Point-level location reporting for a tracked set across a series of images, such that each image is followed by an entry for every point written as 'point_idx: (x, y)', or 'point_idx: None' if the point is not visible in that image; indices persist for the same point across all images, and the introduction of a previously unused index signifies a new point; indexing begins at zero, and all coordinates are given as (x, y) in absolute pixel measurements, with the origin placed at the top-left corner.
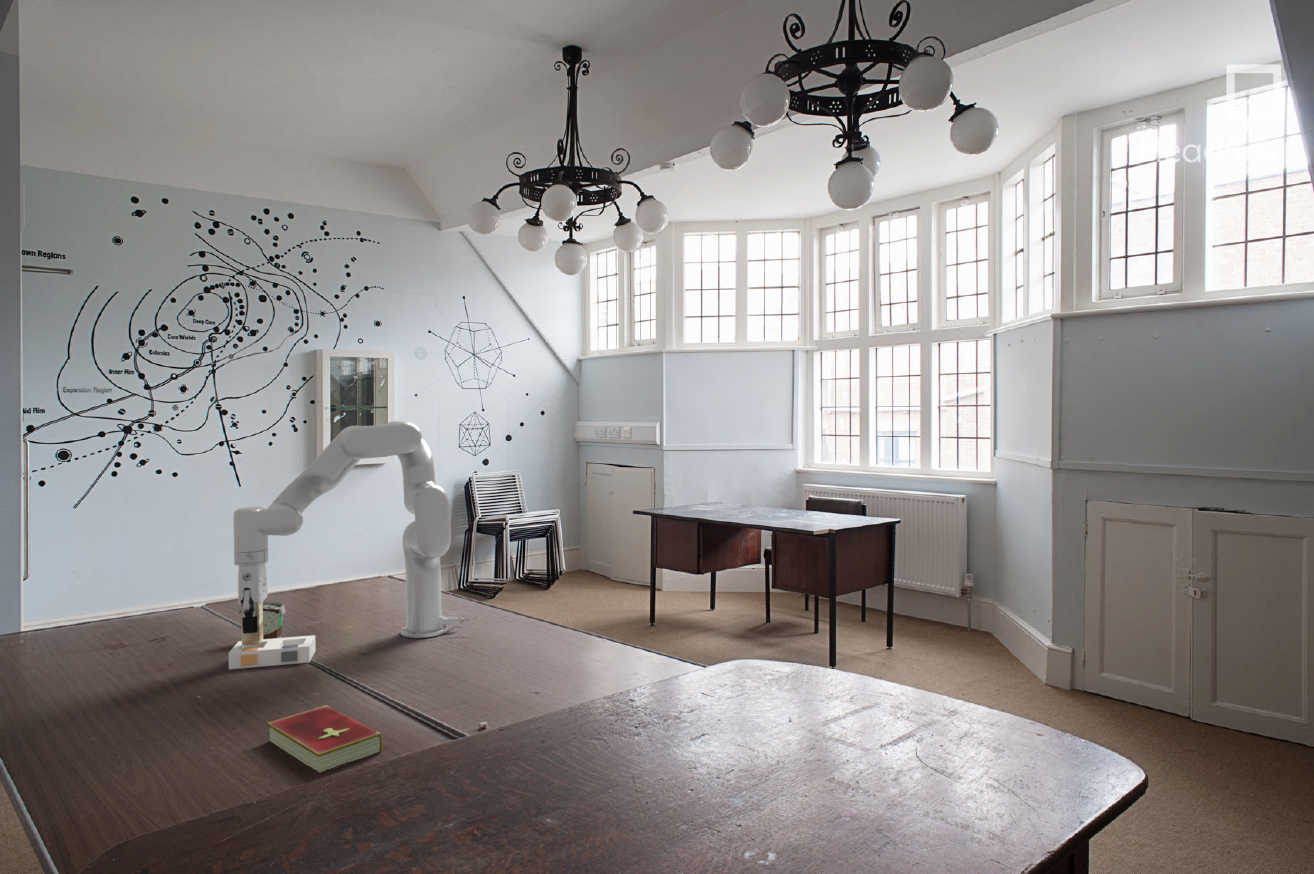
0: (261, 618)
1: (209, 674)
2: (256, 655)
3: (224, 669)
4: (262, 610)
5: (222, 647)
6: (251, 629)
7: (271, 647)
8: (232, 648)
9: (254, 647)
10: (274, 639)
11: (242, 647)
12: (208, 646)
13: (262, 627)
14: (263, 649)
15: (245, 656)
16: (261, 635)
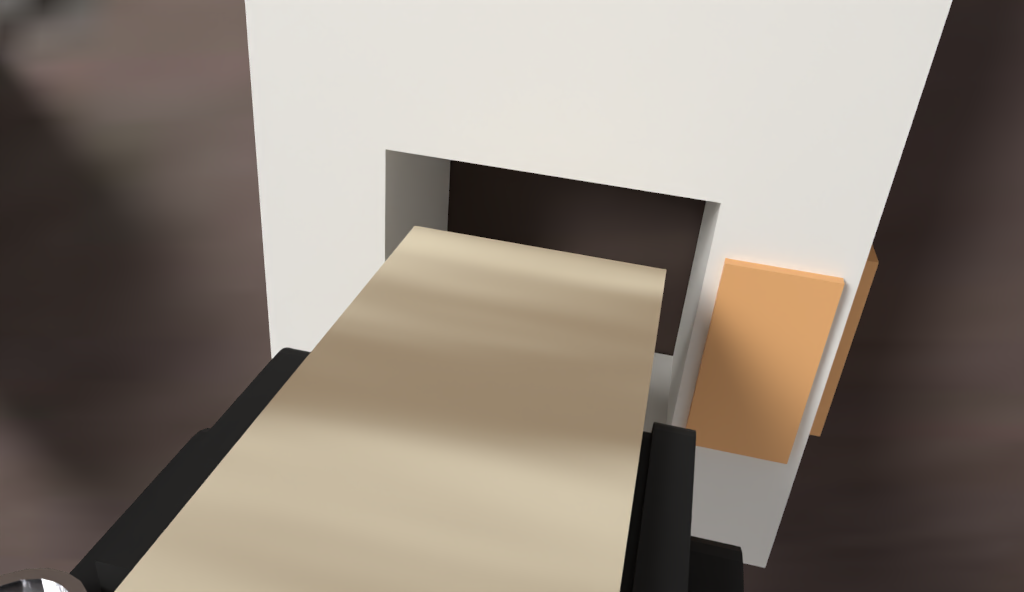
0: (385, 486)
1: (835, 570)
2: (876, 260)
3: None
4: (161, 590)
5: (41, 461)
6: (734, 558)
7: (785, 80)
8: None
9: None
10: (305, 57)
11: None
12: (8, 536)
13: (383, 336)
14: (844, 197)
15: (832, 378)
16: (507, 291)
